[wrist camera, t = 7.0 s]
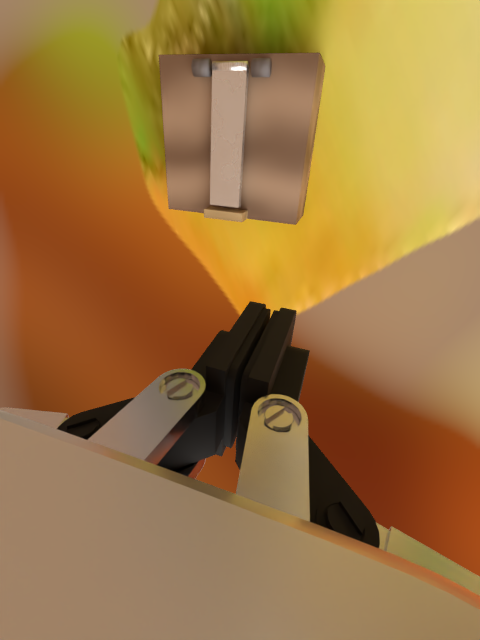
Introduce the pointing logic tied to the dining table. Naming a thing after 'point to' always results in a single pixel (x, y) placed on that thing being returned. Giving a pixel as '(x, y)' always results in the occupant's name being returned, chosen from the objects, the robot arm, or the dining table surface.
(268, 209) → the walnut box
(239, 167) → the steel strap
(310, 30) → the dining table surface
